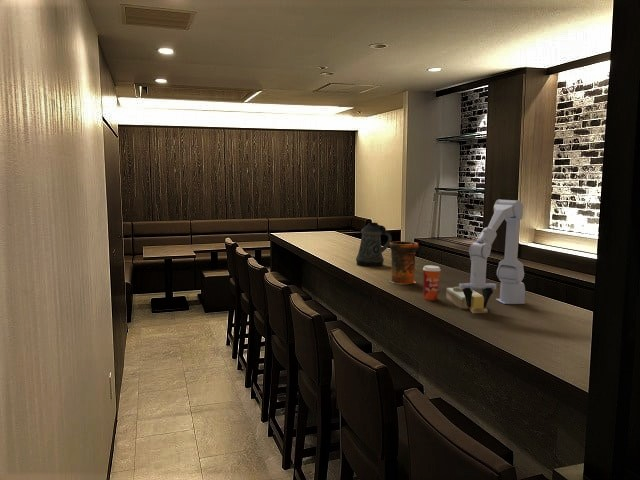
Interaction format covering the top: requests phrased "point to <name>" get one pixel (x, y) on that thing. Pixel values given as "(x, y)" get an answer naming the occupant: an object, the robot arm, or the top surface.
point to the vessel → (403, 261)
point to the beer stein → (372, 245)
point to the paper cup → (431, 282)
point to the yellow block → (477, 302)
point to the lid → (460, 292)
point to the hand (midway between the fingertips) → (476, 306)
